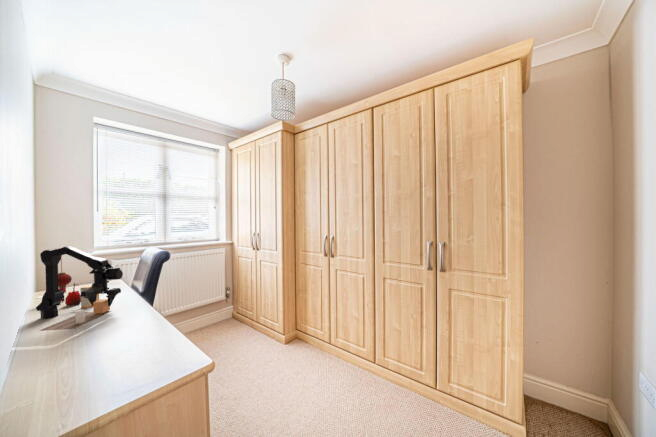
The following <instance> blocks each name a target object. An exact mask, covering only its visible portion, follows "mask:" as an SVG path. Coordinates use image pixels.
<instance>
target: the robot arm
mask: <svg viewBox="0 0 656 437" xmlns="http://www.w3.org/2000/svg"><path fill="white" fill-rule="evenodd" d="M64 255H67V256H69V257H71V258H74V259H76V260H78V261H81V262H83V263H85V264H86V265H87V266H88V267H90V268H91V269H92V270H91V271H89V275H90V274H91V275H93V283H92V284H91V285H92V287H91V288H89V289H88V290H85V291H82V292H81V291H80V295H81V297H84V298H87V299H88V300H89V301H90V303H91V305H92V306H91V307H93V302H95V301H96V297H97V294H99V295H100V294H101V295H104V294H106V296H105V297H106V299H108V306H110V307H111V305H112V304H113V302H114V300H115V297H116V296H117V295H118V294H120V293H122V289H121V288H120V287H113V288H110V287H109V286H108V283H109V282H110V281H112V280H113V281H114V280H121V279H122V278H123V274H124V273H123V270H122V269H121V267H115V268H114V267H113V266H112V265H111V264H110V263H109V260H108V259H107V258H104V257H101V256H94V255H91V254H89V253H87V252H85V251H82V250H80V249H78V248H76V247H74V246H72V245H68V246H67V245H66V246H63V247H60V248H51V249H45V250H42V252H40V261H41V262H42V264H43V265H44V267H45V292H44V293H43V295H42V298H41V302H40V303H39V304H38V305H37V306H36V307H35V309H36V311H37V312H40V319H42V320H47V319H54V318H57V317H58V316H59V309H58V306H60V305H61V302H62V300H63V298H64V299H65V293H64V291H60V290H59V286H58V273H59V263H61V260H62V256H64Z"/></svg>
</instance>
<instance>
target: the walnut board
mask: <svg viewBox="0 0 656 437" xmlns="http://www.w3.org/2000/svg"><path fill="white" fill-rule="evenodd" d="M111 312H112V310H109V311H107V312H104V313H96V314H94V312H93V311H85V322H83V323H78V324H76V314H75V315H73V316H71V317H68V318H64V319H63V320H61V321H59V322H56V323H54V324H52V325H49V326H47V327H45V328H42V329H40V330H39V332H40V331H41V332H42V331H43V332H44V331H57V330H59V331H60V330H75V329H78V328H79V327H81V326H83V325H85V324H88V323H89V322H91V321H94V320H96V319H98V318H101V317H102V316H104V315H107V314H108V313H111Z"/></svg>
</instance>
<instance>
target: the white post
mask: <svg viewBox="0 0 656 437" xmlns="http://www.w3.org/2000/svg"><path fill="white" fill-rule="evenodd" d="M85 312H86V308H83V309H78V310H75V315H76V324H78V323H83V322H85Z"/></svg>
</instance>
